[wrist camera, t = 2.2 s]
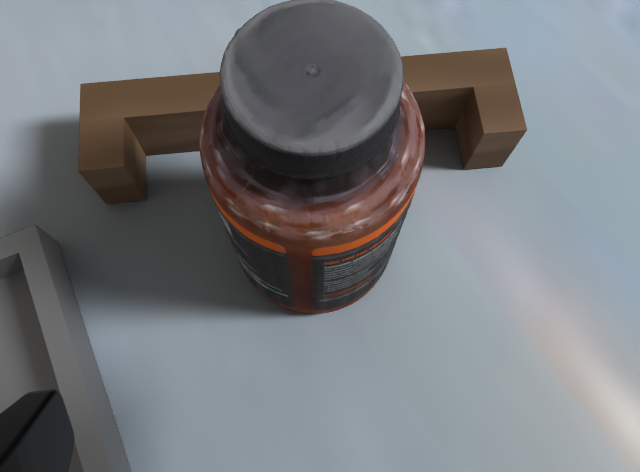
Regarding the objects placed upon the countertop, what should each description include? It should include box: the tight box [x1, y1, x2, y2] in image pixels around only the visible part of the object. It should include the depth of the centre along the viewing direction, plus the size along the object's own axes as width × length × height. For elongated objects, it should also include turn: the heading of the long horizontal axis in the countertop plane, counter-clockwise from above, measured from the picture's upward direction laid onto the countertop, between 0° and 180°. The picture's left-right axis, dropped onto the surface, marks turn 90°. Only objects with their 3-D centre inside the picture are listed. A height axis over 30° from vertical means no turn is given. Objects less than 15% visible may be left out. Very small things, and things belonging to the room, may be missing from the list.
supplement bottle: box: [199, 0, 425, 314], centre depth 18 cm, size 6×6×11 cm
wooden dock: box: [78, 48, 527, 204], centre depth 23 cm, size 4×16×3 cm, turn 96°
